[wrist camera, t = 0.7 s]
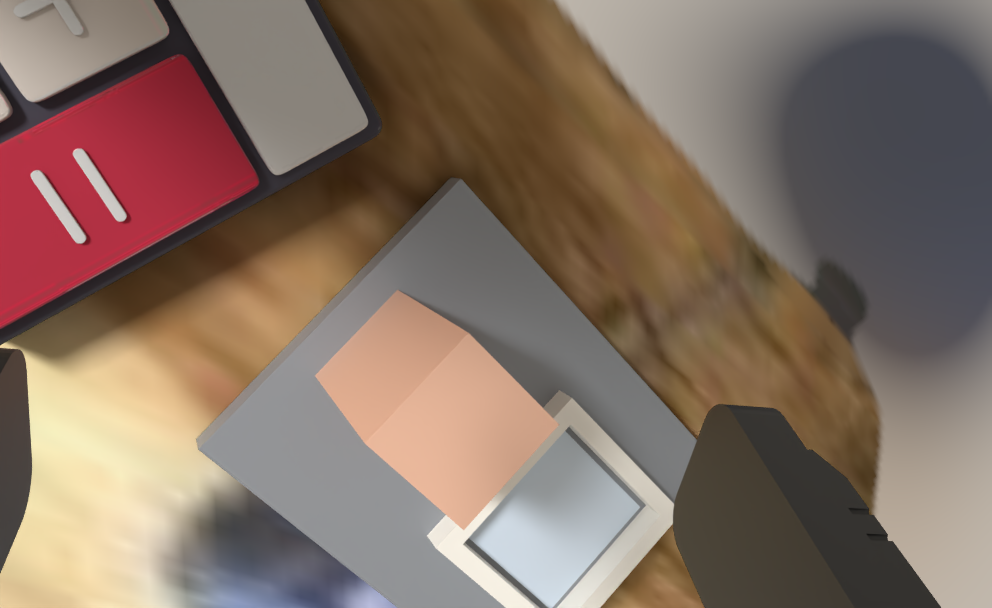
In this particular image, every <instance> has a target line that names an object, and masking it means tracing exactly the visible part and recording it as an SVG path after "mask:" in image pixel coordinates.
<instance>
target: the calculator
mask: <svg viewBox="0 0 992 608" xmlns="http://www.w3.org/2000/svg"><path fill="white" fill-rule="evenodd" d="M381 129H382V121H381V118H380V116H379V114H378V112H377V110H376V108H375V107H374V105H373V103H372V101H371V99H370V97H369V95H368V93H367V91H366V90H365V88H364V86H363V84H362V82H361V80H360V78H359V76H358V74H357V73H356V71H355V69H354V67H353V65H352V63H351V61H350V59H349V57H348V56H347V54H346V52H345V50H344V48H343V46H342V44H341V42H340V41H339V39H338V37H337V35H336V33H335V31H334V29H333V27H332V25H331V24H330V22H329V20H328V18H327V16H326V14H325V12H324V10H323V8H322V7H321V5H320V3H319V1H318V0H0V345H1V344H3V343H5V342H7V341H8V340H10V339H12V338H14V337H16V336H18V335H19V334H21V333H23V332H25V331H27V330H28V329H30V328H32V327H34V326H36V325H37V324H39V323H41V322H43V321H45V320H46V319H48V318H50V317H52V316H54V315H55V314H57V313H59V312H61V311H63V310H64V309H66V308H68V307H70V306H72V305H73V304H75V303H77V302H79V301H81V300H82V299H84V298H86V297H88V296H90V295H91V294H93V293H95V292H97V291H99V290H100V289H102V288H104V287H106V286H108V285H109V284H111V283H113V282H115V281H117V280H118V279H120V278H122V277H124V276H126V275H128V274H129V273H131V272H133V271H135V270H137V269H138V268H140V267H142V266H144V265H146V264H147V263H149V262H151V261H153V260H155V259H156V258H158V257H160V256H162V255H164V254H165V253H167V252H169V251H171V250H173V249H174V248H176V247H178V246H180V245H182V244H183V243H185V242H187V241H189V240H191V239H192V238H194V237H196V236H198V235H200V234H201V233H203V232H205V231H207V230H209V229H210V228H212V227H214V226H216V225H218V224H219V223H221V222H223V221H225V220H227V219H229V218H230V217H232V216H234V215H236V214H238V213H239V212H241V211H243V210H245V209H247V208H248V207H250V206H252V205H254V204H256V203H257V202H259V201H261V200H263V199H265V198H266V197H268V196H270V195H272V194H274V193H275V192H277V191H279V190H281V189H283V188H284V187H286V186H288V185H290V184H292V183H293V182H295V181H297V180H299V179H301V178H302V177H304V176H306V175H308V174H310V173H311V172H313V171H315V170H317V169H319V168H320V167H322V166H324V165H326V164H328V163H329V162H331V161H333V160H335V159H337V158H339V157H340V156H342V155H344V154H346V153H348V152H349V151H351V150H353V149H355V148H357V147H358V146H360V145H362V144H364V143H366V142H367V141H369V140H371V139H373V138H374V137H376V136H377V135H378V134H379V133H380V131H381Z"/></svg>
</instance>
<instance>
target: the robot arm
mask: <svg viewBox="0 0 992 608" xmlns="http://www.w3.org/2000/svg"><path fill="white" fill-rule="evenodd" d="M31 475H32V454H31V437H30V420H29V404H28V387H27V370H26V362H25V358H24V355H23V353H22V351H21V350H18V349H6V348H0V573H1V570H2V568H3V566H4V563H5V561H6V558H7V556H8V554H9V551H10V549H11V546H12V544H13V542H14V539H15V537H16V534H17V532H18V530H19V527H20V525H21V522H22V520H23V517H24V514H25V510H26V506H27V502H28V497H29V492H30V485H31ZM673 530H674V536H675V540H676V544H677V546H678V549H679V551H680V553H681V556H682V558H683V560H684V562H685V565H686V567H687V569H688V571H689V574H690V576H691V578H692V580H693V583H694V585H695V587H696V589H697V592H698V594H699V596H700V598H701V601H702V603H703V605H704V607H705V608H941V607H940V605H939V604H938V603H937V601H936V600H935V598H934V597H933V596H932V594H931V593H930V592H929V590H928V589H927V587H926V586H925V585H924V583H923V582H922V581H921V579H920V578H919V577H918V575H917V574H916V572H915V571H914V570H913V568H912V567H911V566H910V564H909V563H908V562H907V560H906V559H905V558H904V556H903V555H902V553H901V552H900V551H899V549H898V548H897V546H896V545H895V544H894V542H893V541H888V539H887V536H888V534H887V533H886V531H885V530H884V529H883V527H882V526H881V525H880V523H879V522H878V520H877V519H876V518H875V516H874V515H869V508H868V507H867V505H866V504H865V503H864V501H863V500H862V498H861V497H860V496H859V494H858V493H857V492H856V490H855V489H854V488H853V486H852V485H851V483H850V482H849V481H848V479H847V478H846V477H845V476H844V475H842V474H841V473H840V472H839V471H837V470H836V469H835V468H834V467H833V466H831V465H830V464H829V463H828V462H826V461H825V460H824V459H823V458H822V457H820V456H819V455H818V454H817V453H815V452H814V451H813V450H807V449H806V447H805V446H804V445H803V443H802V442H801V440H800V439H799V437H798V436H797V435H796V433H795V432H794V430H793V429H792V427H791V426H790V425H789V423H788V422H787V420H786V419H785V418H784V416H783V415H782V414H781V413H780V412H779V411H778V410H776V409H774V408H764V407H750V406H737V405H724V404H718V405H716V406H714V407H713V408H712V409H711V410H710V411H709V413H708V414H707V416H706V418H705V421H704V423H703V426H702V429H701V431H700V434H699V436H698V439H697V442H696V444H695V447H694V450H693V452H692V455H691V458H690V460H689V463H688V465H687V468H686V471H685V473H684V476H683V479H682V481H681V484H680V487H679V489H678V492H677V495H676V498H675V502H674V509H673Z"/></svg>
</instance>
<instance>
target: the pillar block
mask: <svg viewBox="0 0 992 608" xmlns="http://www.w3.org/2000/svg"><path fill="white" fill-rule="evenodd" d="M315 377H316V378H317V379H318V381H319V382H320V383H321V385H322V386H323V388H324V389H325V390H326V392H327V393H328V394H329V396H330V397H331V398H332V400H333V401H334V402H335V404H336V405H337V407H338V408H339V409H340V411H341V412H342V413H343V415H344V416H345V417H346V419H347V420H348V421H349V423H350V424H351V425H352V427H353V428H354V430H355V431H356V432H357V434H358V435H359V436H360V438H361V439H362V440H363V442H364V443H365V444H366V445H367V446H368V447H369V448H370V449H372V450H373V451H374V452H375V453H376V454H377V455H378V456H380V457H381V458H382V459H383V460H384V461H385V462H386V463H388V464H389V465H390V466H391V467H392V468H393V469H394V470H396V471H397V472H398V473H399V474H400V475H401V476H402V477H403V478H405V479H406V480H407V481H408V482H409V483H410V484H411V485H413V486H414V487H415V488H416V489H417V490H418V491H419V492H421V493H422V494H423V495H424V496H425V497H426V498H427V499H429V500H430V501H431V502H432V503H433V504H434V505H435V506H436V507H438V508H439V509H440V510H441V511H442V512H443V513H444V514H446V515H447V516H448V517H449V518H450V519H451V520H452V521H454V522H455V523H456V524H457V525H458V526H459V527H460V528H462V529H463V530H465V528H466V527H467V526H468V525H469V524H470V523H471V522H472V521H473V520H474V519H475V517H476V516H477V515H478V514H479V513H480V512H481V511H482V510H483V509H484V507H485V506H486V505H487V504H488V503H489V502H490V501H491V500H492V499H493V497H494V496H495V495H496V494H497V493H498V492H499V491H500V490H501V489H502V488H503V486H504V485H505V484H506V483H507V482H508V481H509V480H510V479H511V478H512V476H513V475H514V474H515V473H516V472H517V471H518V470H519V469H520V468H521V467H522V465H523V464H524V463H525V462H526V461H527V460H528V459H529V458H530V457H531V455H532V454H533V453H534V452H535V451H536V450H537V449H538V448H539V447H540V445H541V444H542V443H543V442H544V441H545V440H546V439H547V438H548V437H549V436H550V434H551V433H552V432H553V431H554V430H555V429H556V428H557V427H558V426H559V424H558V423H557V422H556V421H555V420H554V419H553V418H552V417H551V416H550V415H549V414H548V413H547V412H546V411H545V410H544V409H543V408H542V407H541V406H540V405H539V404H538V403H537V401H536V400H535V399H534V398H533V397H532V396H531V395H530V394H529V393H528V392H527V391H526V390H525V389H524V388H523V387H522V386H521V385H520V384H519V383H518V382H517V381H516V380H515V379H514V378H513V377H512V376H511V375H510V374H509V373H508V372H507V371H506V370H505V369H504V368H503V367H502V366H501V365H500V364H499V363H498V362H497V361H496V360H495V359H494V358H493V357H492V356H491V355H490V354H489V353H488V352H487V351H486V350H485V349H484V348H483V347H482V346H481V345H480V344H479V343H478V342H477V341H476V340H475V339H474V338H473V337H472V336H471V335H470V334H469V333H468V332H466V331H465V330H463V329H462V328H460V327H458V326H457V325H455V324H453V323H452V322H450V321H448V320H447V319H445V318H443V317H442V316H440V315H439V314H437V313H435V312H434V311H432V310H430V309H429V308H427V307H425V306H424V305H422V304H420V303H419V302H417V301H416V300H414V299H412V298H411V297H409V296H407V295H406V294H404V293H402V292H401V291H399V290H397V291H396V292H395V293H394V294H393V295H392V296H391V297H390V298H389V299H388V300H387V301H386V302H385V303H384V304H383V305H382V306H381V307H380V308H379V309H378V311H377V312H376V313H375V314H374V315H373V316H372V317H371V318H370V319H369V320H368V321H367V322H366V323H365V324H364V325H363V326H362V327H361V328H360V329H359V330H358V331H357V332H356V333H355V334H354V335H353V337H352V338H351V339H350V340H349V341H348V342H347V343H346V344H345V345H344V346H343V347H342V348H341V349H340V350H339V351H338V352H337V353H336V354H335V355H334V356H333V357H332V358H331V359H330V360H329V361H328V363H327V364H326V365H325V366H324V367H323V368H322V369H321V370H320V371H319V372H318V373H317V374H316V375H315Z"/></svg>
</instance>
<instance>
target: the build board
mask: <svg viewBox="0 0 992 608" xmlns="http://www.w3.org/2000/svg"><path fill="white" fill-rule="evenodd" d="M397 290H399V291H401V292H402V293H404V294H406V295H407V296H409V297H411V298H412V299H414V300H416V301H417V302H419V303H420V304H422V305H424V306H425V307H427V308H429V309H430V310H432V311H434V312H435V313H437V314H439V315H440V316H442V317H443V318H445V319H447V320H448V321H450V322H452V323H453V324H455V325H457V326H458V327H460V328H462V329H463V330H465V331H466V332H468V333H469V334H470V335H471V336H472V337H473V338H474V339H475V340H476V341H477V342H478V343H479V344H480V345H481V346H482V347H483V348H484V349H485V350H486V351H487V352H488V353H489V354H490V355H491V356H492V357H493V358H494V359H495V360H496V361H497V362H498V363H499V364H500V365H501V366H502V367H503V368H504V369H505V370H506V371H507V372H508V373H509V374H510V375H511V376H512V377H513V378H514V379H515V380H516V381H517V382H518V383H519V384H520V385H521V386H522V387H523V388H524V389H525V390H526V391H527V392H528V393H529V394H530V395H531V396H532V397H533V398H534V399H535V400H536V401H537V403H538V404H539V405H540V406H541V407H542V408H543V409H544V410H545V411H546V412H547V413H548V414H549V415H550V416H551V417H552V418H553V419H554V420H555V421H556V422H557V423H558V424H559V426H558V427H557V428H556V429H555V430H554V431H553V432H552V433H551V434H550V436H549V437H548V438H547V439H546V440H545V441H544V442H543V443H542V444H541V445H540V447H539V448H538V449H537V450H536V451H535V452H534V453H533V454H532V455H531V457H530V458H529V459H528V460H527V461H526V462H525V463H524V464H523V465H522V467H521V468H520V469H519V470H518V471H517V472H516V473H515V474H514V475H513V476H512V478H511V479H510V480H509V481H508V482H507V483H506V484H505V485H504V486H503V488H502V489H501V490H500V491H499V492H498V493H497V494H496V495H495V496H494V497H493V499H492V500H491V501H490V502H489V503H488V504H487V505H486V506H485V507H484V509H483V510H482V511H481V512H480V513H479V514H478V515H477V516H476V517H475V519H474V520H473V521H472V522H471V523H470V524H469V525H468V526H467V527H466V528H465V530H463V529H462V528H460V527H459V526H458V525H457V524H456V523H455V522H454V521H452V520H451V519H450V518H449V517H448V516H447V515H446V514H444V513H443V512H442V511H441V510H440V509H439V508H438V507H436V506H435V505H434V504H433V503H432V502H431V501H430V500H429V499H427V498H426V497H425V496H424V495H423V494H422V493H421V492H419V491H418V490H417V489H416V488H415V487H414V486H413V485H411V484H410V483H409V482H408V481H407V480H406V479H405V478H403V477H402V476H401V475H400V474H399V473H398V472H397V471H396V470H394V469H393V468H392V467H391V466H390V465H389V464H388V463H386V462H385V461H384V460H383V459H382V458H381V457H380V456H378V455H377V454H376V453H375V452H374V451H373V450H372V449H370V448H369V447H368V446H367V445H366V444H365V443H364V442H363V440H362V439H361V438H360V436H359V435H358V434H357V432H356V431H355V430H354V428H353V427H352V425H351V424H350V423H349V421H348V420H347V419H346V417H345V416H344V415H343V413H342V412H341V411H340V409H339V408H338V407H337V405H336V404H335V402H334V401H333V400H332V398H331V397H330V396H329V394H328V393H327V392H326V390H325V389H324V388H323V386H322V385H321V383H320V382H319V381H318V379H317V378H316V377H315V375H316V374H317V373H318V372H319V371H320V370H321V369H322V368H323V367H324V366H325V365H326V364H327V363H328V361H329V360H330V359H331V358H332V357H333V356H334V355H335V354H336V353H337V352H338V351H339V350H340V349H341V348H342V347H343V346H344V345H345V344H346V343H347V342H348V341H349V340H350V339H351V338H352V337H353V335H354V334H355V333H356V332H357V331H358V330H359V329H360V328H361V327H362V326H363V325H364V324H365V323H366V322H367V321H368V320H369V319H370V318H371V317H372V316H373V315H374V314H375V313H376V312H377V311H378V309H379V308H380V307H381V306H382V305H383V304H384V303H385V302H386V301H387V300H388V299H389V298H390V297H391V296H392V295H393V294H394V293H395V292H396V291H397ZM196 441H197V446H198V450H200V451H201V452H202V453H203V454H205V455H206V456H207V457H208V458H210V459H211V460H212V461H213V462H215V463H216V464H217V465H218V466H220V467H221V468H222V469H224V470H225V471H226V472H227V473H229V474H230V475H231V476H232V477H234V478H235V479H236V480H237V481H239V482H240V483H241V484H242V485H244V486H245V487H246V488H247V489H249V490H250V491H251V492H253V493H254V494H255V495H256V496H258V497H259V498H260V499H261V500H263V501H264V502H265V503H266V504H268V505H269V506H270V507H271V508H273V509H274V510H275V511H276V512H278V513H279V514H280V515H282V516H283V517H284V518H285V519H287V520H288V521H289V522H290V523H292V524H293V525H294V526H295V527H297V528H298V529H299V530H300V531H302V532H303V533H304V534H305V535H307V536H308V537H309V538H311V539H312V540H313V541H314V542H316V543H317V544H318V545H319V546H321V547H322V548H323V549H324V550H326V551H327V552H328V553H329V554H331V555H332V556H333V557H334V558H336V559H337V560H338V561H339V562H341V563H342V564H343V565H345V566H346V567H347V568H348V569H350V570H351V571H352V572H353V573H355V574H356V575H357V576H358V577H360V578H361V579H362V580H363V581H365V582H366V583H367V584H368V585H370V586H371V587H372V588H374V589H375V590H376V591H377V592H379V593H380V594H381V595H382V596H384V597H385V598H386V599H387V600H389V601H390V602H391V603H392V604H394V605H395V606H396V607H397V608H600V607H601V606H602V605H603V604H604V603H605V601H606V600H607V599H608V598H609V597H610V596H611V594H612V593H613V592H614V591H615V590H616V589H617V588H618V586H619V585H620V584H621V583H622V582H623V581H624V579H625V578H626V577H627V576H628V575H629V574H630V572H631V571H632V570H633V569H634V568H635V567H636V566H637V564H638V563H639V562H640V561H641V560H642V559H643V557H644V556H645V555H646V554H647V553H648V552H649V551H650V549H651V548H652V547H653V546H654V545H655V544H656V542H657V541H658V540H659V539H660V538H661V537H662V535H663V534H664V533H665V532H666V531H667V530H668V529H669V527H670V526H671V525H672V524H673V509H674V502H675V498H676V495H677V492H678V489H679V487H680V484H681V481H682V479H683V476H684V473H685V471H686V468H687V465H688V463H689V460H690V458H691V455H692V452H693V450H694V447H695V444H696V442H697V440H696V439H695V437H694V436H693V435H692V434H691V433H690V432H689V431H688V430H687V429H686V427H685V426H684V425H683V424H682V423H681V422H680V421H679V420H678V419H677V418H676V416H675V415H674V414H673V413H672V412H671V411H670V410H669V409H668V408H667V406H666V405H665V404H664V403H663V402H662V401H661V400H660V399H659V398H658V396H657V395H656V394H655V393H654V392H653V391H652V390H651V389H650V388H649V386H648V385H647V384H646V383H645V382H644V381H643V380H642V379H641V378H640V376H639V375H638V374H637V373H636V372H635V371H634V370H633V369H632V368H631V367H630V365H629V364H628V363H627V362H626V361H625V360H624V359H623V358H622V357H621V355H620V354H619V353H618V352H617V351H616V350H615V349H614V348H613V347H612V345H611V344H610V343H609V342H608V341H607V340H606V339H605V338H604V337H603V335H602V334H601V333H600V332H599V331H598V330H597V329H596V328H595V327H594V326H593V324H592V323H591V322H590V321H589V320H588V319H587V318H586V317H585V316H584V314H583V313H582V312H581V311H580V310H579V309H578V308H577V307H576V306H575V304H574V303H573V302H572V301H571V300H570V299H569V298H568V297H567V296H566V294H565V293H564V292H563V291H562V290H561V289H560V288H559V287H558V286H557V284H556V283H555V282H554V281H553V280H552V279H551V278H550V277H549V276H548V275H547V273H546V272H545V271H544V270H543V269H542V268H541V267H540V266H539V265H538V263H537V262H536V261H535V260H534V259H533V258H532V257H531V256H530V255H529V253H528V252H527V251H526V250H525V249H524V248H523V247H522V246H521V245H520V243H519V242H518V241H517V240H516V239H515V238H514V237H513V236H512V235H511V233H510V232H509V231H508V230H507V229H506V228H505V227H504V226H503V225H502V224H501V222H500V221H499V220H498V219H497V218H496V217H495V216H494V215H493V214H492V212H491V211H490V210H489V209H488V208H487V207H486V206H485V205H484V204H483V202H482V201H481V200H480V199H479V198H478V197H477V196H476V195H475V194H474V192H473V191H472V190H471V189H470V188H469V187H468V186H467V185H466V184H465V182H464V181H463V180H462V179H460V178H453V177H451V178H450V179H449V180H448V181H447V182H446V183H445V184H444V185H443V186H442V187H441V188H440V189H439V190H438V191H437V192H436V193H435V194H434V195H433V196H432V197H431V198H430V199H429V200H428V201H427V202H426V203H425V204H424V206H423V207H422V208H421V209H420V210H419V211H418V212H417V213H416V214H415V215H414V216H413V217H412V218H411V219H410V220H409V221H408V222H407V223H406V224H405V225H404V226H403V227H402V228H401V229H400V230H399V231H398V232H397V233H396V234H395V235H394V236H393V237H392V238H391V239H390V240H389V241H388V243H387V244H386V245H385V246H384V247H383V248H382V249H381V250H380V251H379V252H378V253H377V254H376V255H375V256H374V257H373V258H372V259H371V260H370V261H369V262H368V263H367V264H366V265H365V266H364V267H363V268H362V269H361V270H360V271H359V272H358V273H357V274H356V275H355V276H354V277H353V278H352V280H351V281H350V282H349V283H348V284H347V285H346V286H345V287H344V288H343V289H342V290H341V291H340V292H339V293H338V294H337V295H336V296H335V297H334V298H333V299H332V300H331V301H330V302H329V303H328V304H327V305H326V306H325V307H324V308H323V309H322V310H321V311H320V312H319V313H318V314H317V315H316V317H315V318H314V319H313V320H312V321H311V322H310V323H309V324H308V325H307V326H306V327H305V328H304V329H303V330H302V331H301V332H300V333H299V334H298V335H297V336H296V337H295V338H294V339H293V340H292V341H291V342H290V343H289V344H288V345H287V346H286V347H285V348H284V349H283V350H282V351H281V352H280V354H279V355H278V356H277V357H276V358H275V359H274V360H273V361H272V362H271V363H270V364H269V365H268V366H267V367H266V368H265V369H264V370H263V371H262V372H261V373H260V374H259V375H258V376H257V377H256V378H255V379H254V380H253V381H252V382H251V383H250V384H249V385H248V386H247V387H246V388H245V389H244V391H243V392H242V393H241V394H240V395H239V396H238V397H237V398H236V399H235V400H234V401H233V402H232V403H231V404H230V405H229V406H228V407H227V408H226V409H225V410H224V411H223V412H222V413H221V414H220V415H219V416H218V417H217V418H216V419H215V420H214V421H213V422H212V423H211V424H210V425H209V426H208V428H207V429H206V430H205V431H204V432H203V433H202V434H201V435H200V436H199V437H198V438H197V439H196Z"/></svg>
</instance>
